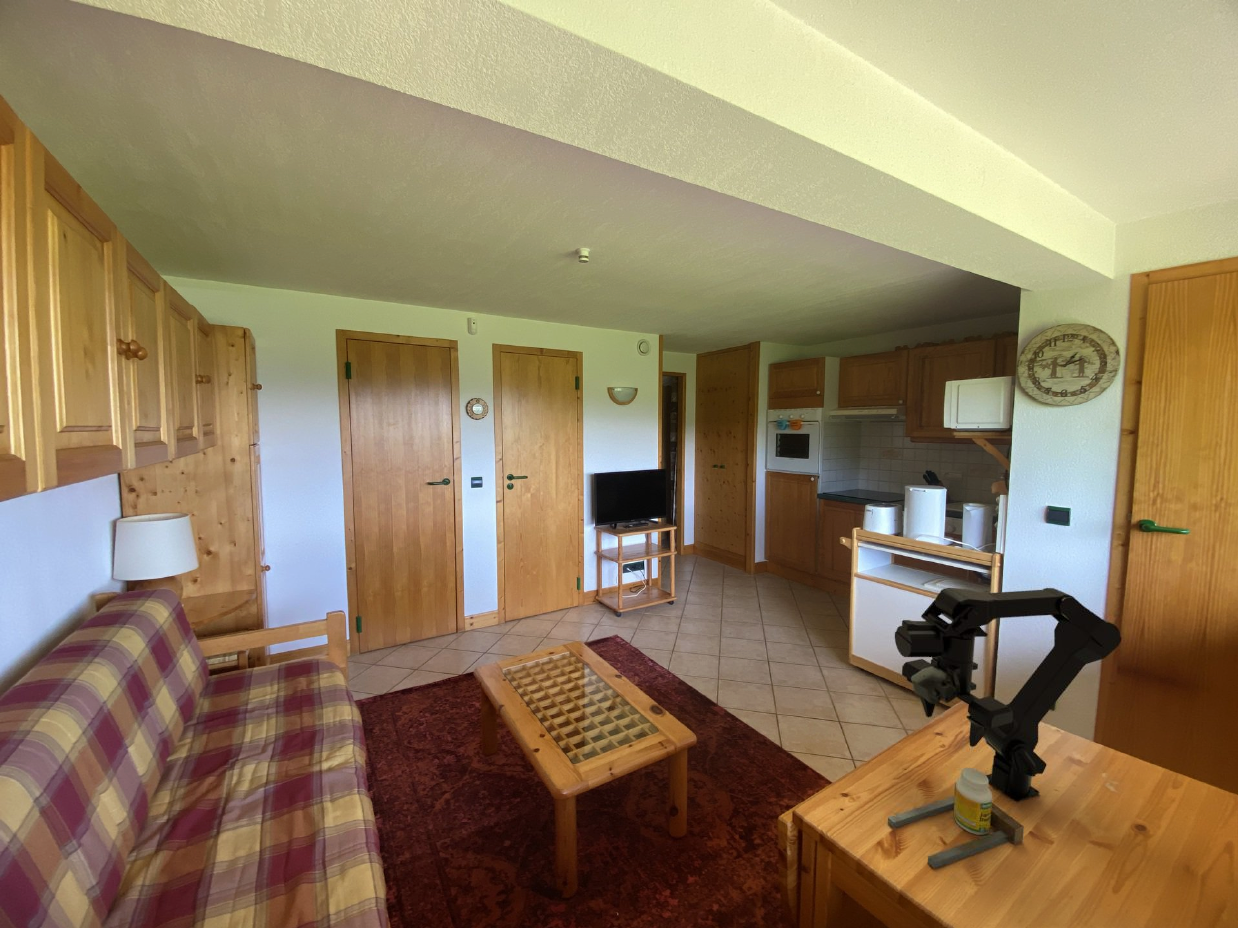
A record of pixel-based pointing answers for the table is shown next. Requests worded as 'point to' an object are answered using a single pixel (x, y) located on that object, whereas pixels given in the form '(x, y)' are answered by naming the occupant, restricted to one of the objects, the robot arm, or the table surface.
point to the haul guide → (999, 821)
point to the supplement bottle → (973, 802)
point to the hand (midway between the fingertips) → (949, 730)
